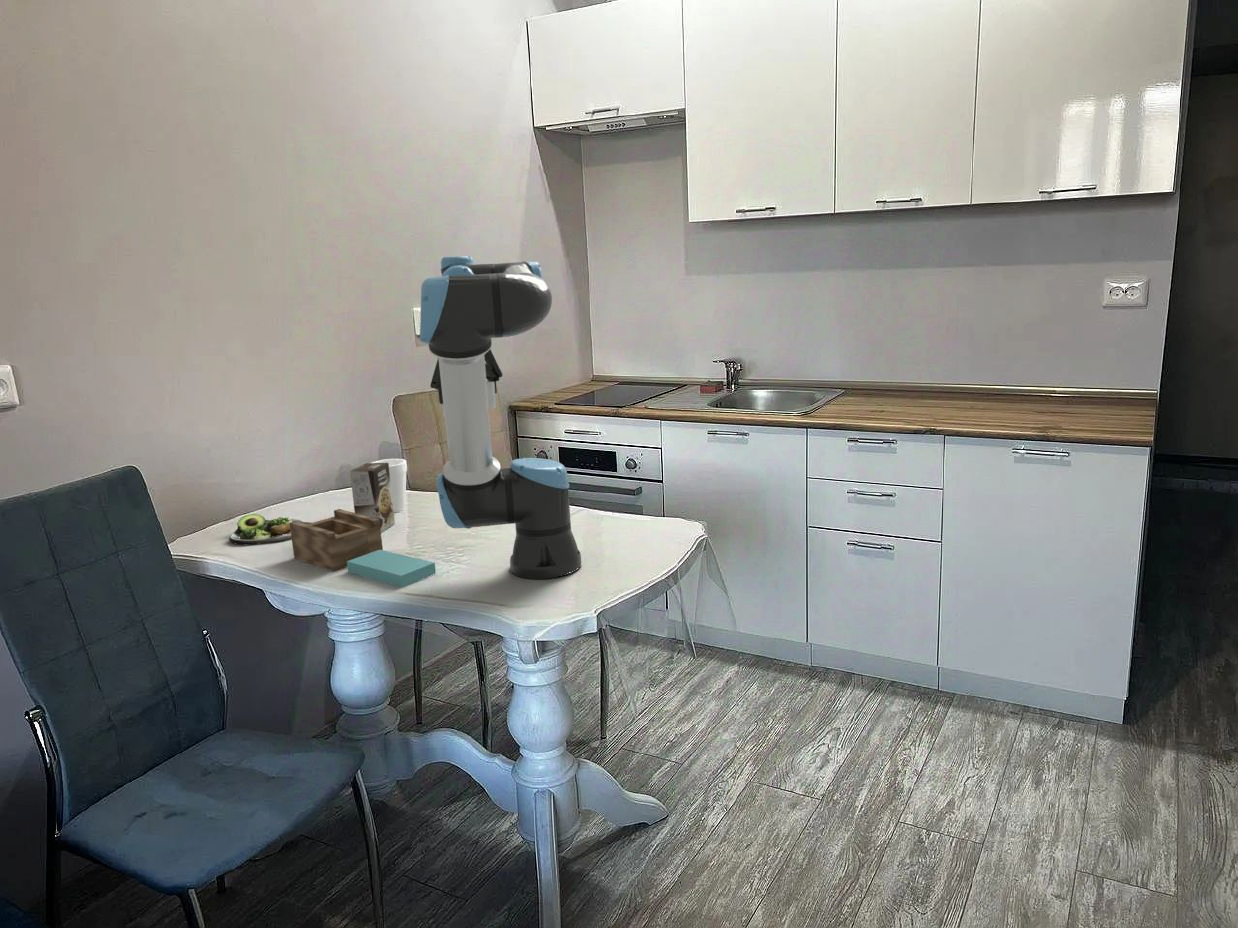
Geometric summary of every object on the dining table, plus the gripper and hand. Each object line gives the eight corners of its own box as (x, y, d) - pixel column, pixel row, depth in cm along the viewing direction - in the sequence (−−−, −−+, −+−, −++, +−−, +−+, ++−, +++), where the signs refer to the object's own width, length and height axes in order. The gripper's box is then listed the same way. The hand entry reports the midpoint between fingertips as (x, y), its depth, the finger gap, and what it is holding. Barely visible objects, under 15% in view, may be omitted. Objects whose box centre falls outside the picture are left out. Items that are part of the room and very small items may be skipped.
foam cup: (399, 503, 256) (394, 457, 253) (417, 508, 249) (413, 461, 246) (368, 511, 249) (363, 464, 247) (386, 516, 243) (381, 468, 240)
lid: (436, 575, 198) (434, 562, 197) (403, 589, 191) (401, 575, 190) (381, 562, 209) (380, 549, 208) (348, 574, 202) (346, 561, 201)
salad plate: (320, 521, 244) (318, 504, 242) (307, 541, 226) (305, 523, 225) (244, 527, 241) (241, 510, 240) (225, 548, 224) (222, 530, 223)
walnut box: (383, 554, 212) (379, 519, 210) (333, 571, 203) (328, 534, 201) (343, 543, 223) (339, 508, 221) (294, 558, 213) (289, 522, 211)
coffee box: (380, 534, 228) (373, 470, 224) (356, 534, 229) (348, 470, 226) (396, 523, 237) (389, 461, 233) (372, 523, 238) (365, 462, 234)
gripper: (491, 318, 230) (498, 403, 235) (409, 328, 212) (418, 420, 216) (512, 318, 225) (518, 405, 230) (430, 329, 207) (438, 422, 212)
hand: (470, 412), depth 223 cm, fingers open, 13 cm apart
